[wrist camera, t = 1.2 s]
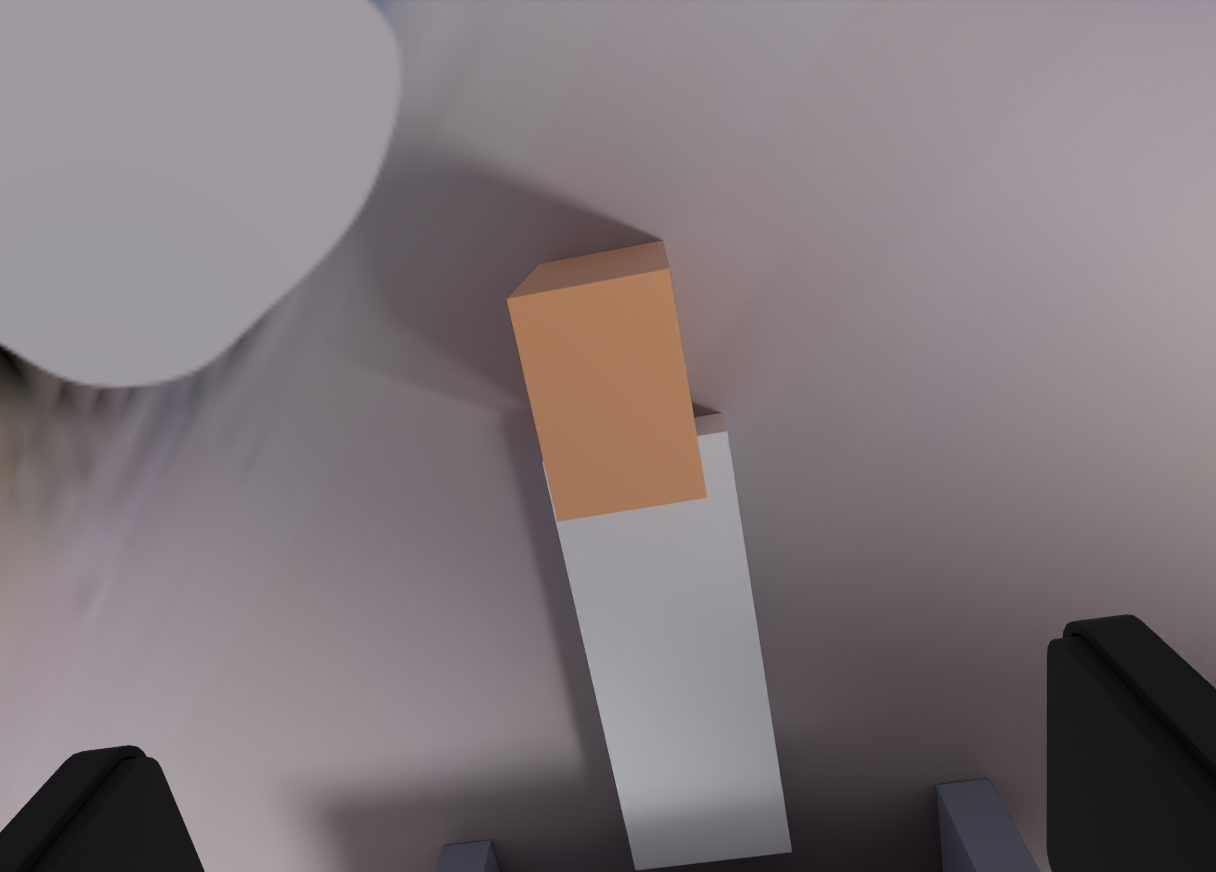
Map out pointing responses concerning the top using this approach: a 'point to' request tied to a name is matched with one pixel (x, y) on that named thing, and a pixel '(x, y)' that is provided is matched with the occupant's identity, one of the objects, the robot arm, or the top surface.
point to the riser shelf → (968, 818)
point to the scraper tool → (652, 558)
